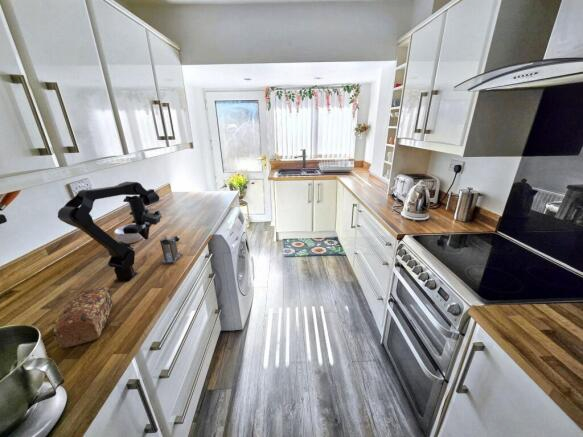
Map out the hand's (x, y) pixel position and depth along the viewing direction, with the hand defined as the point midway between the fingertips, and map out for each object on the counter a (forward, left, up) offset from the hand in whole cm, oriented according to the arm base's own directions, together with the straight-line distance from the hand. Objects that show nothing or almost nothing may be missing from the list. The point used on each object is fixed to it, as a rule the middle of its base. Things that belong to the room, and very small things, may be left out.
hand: (146, 239), depth 115 cm
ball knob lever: (+4, -10, -5) cm, 11 cm away
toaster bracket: (+1, -10, -12) cm, 15 cm away
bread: (-41, -2, -12) cm, 43 cm away
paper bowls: (+24, +26, -12) cm, 37 cm away
